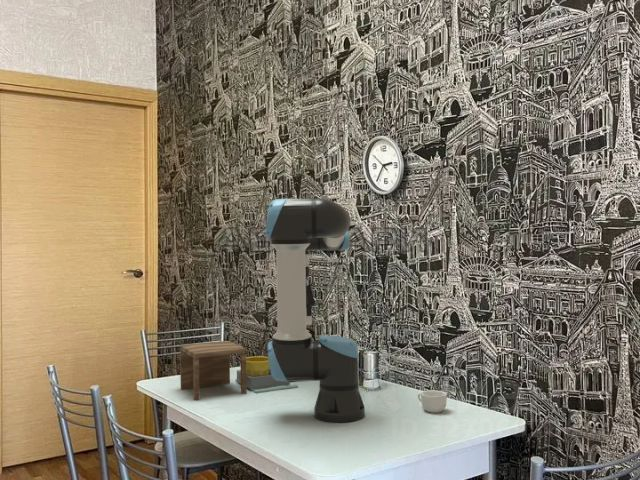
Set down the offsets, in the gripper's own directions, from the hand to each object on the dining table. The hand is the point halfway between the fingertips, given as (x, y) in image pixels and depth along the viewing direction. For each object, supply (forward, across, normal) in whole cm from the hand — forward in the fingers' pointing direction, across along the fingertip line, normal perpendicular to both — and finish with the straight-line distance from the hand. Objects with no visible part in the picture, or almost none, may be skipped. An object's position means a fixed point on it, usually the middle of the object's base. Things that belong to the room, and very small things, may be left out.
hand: (300, 322), depth 235 cm
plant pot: (+22, 0, +18) cm, 28 cm away
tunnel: (+21, 0, +34) cm, 40 cm away
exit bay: (+21, 0, +14) cm, 25 cm away
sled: (+21, 0, +10) cm, 23 cm away
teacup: (+22, -57, -17) cm, 63 cm away
